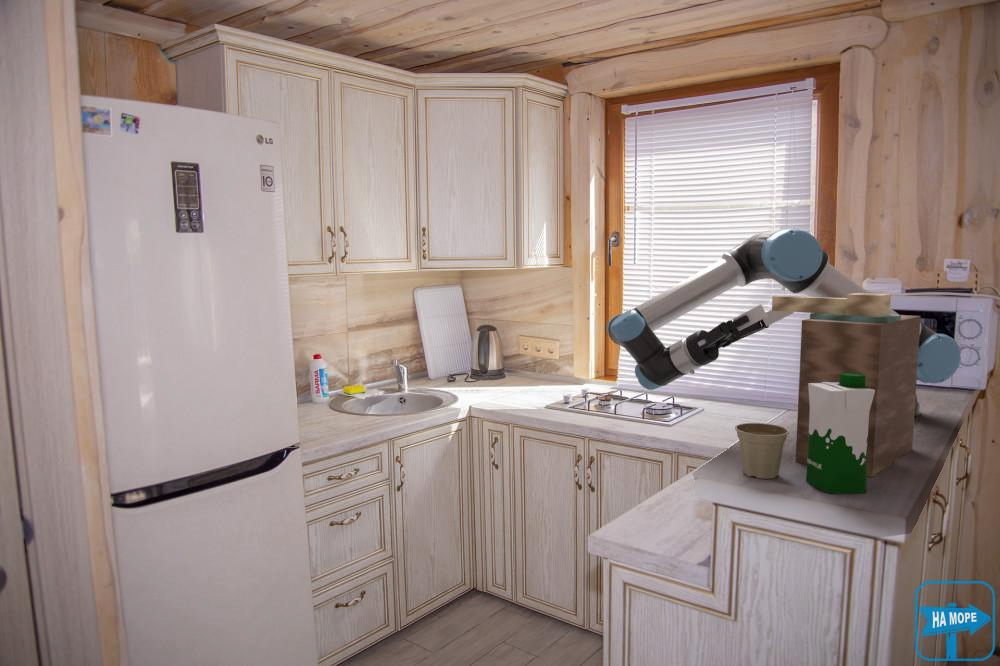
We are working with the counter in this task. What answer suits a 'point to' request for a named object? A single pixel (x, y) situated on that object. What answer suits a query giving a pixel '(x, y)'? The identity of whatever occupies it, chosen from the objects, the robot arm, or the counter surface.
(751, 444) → the flower pot
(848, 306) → the oak bar
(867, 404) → the milk carton
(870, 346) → the walnut shelf
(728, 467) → the counter surface
